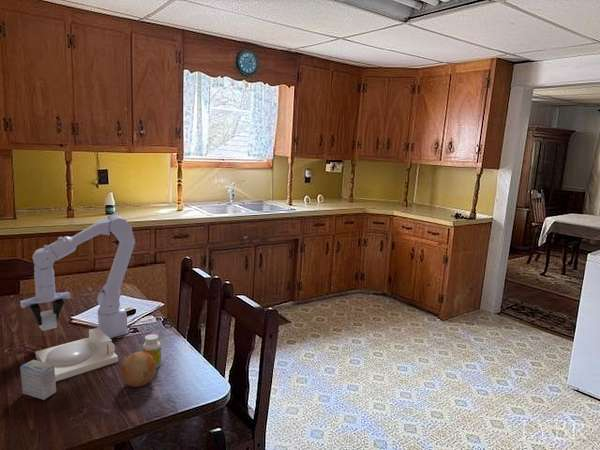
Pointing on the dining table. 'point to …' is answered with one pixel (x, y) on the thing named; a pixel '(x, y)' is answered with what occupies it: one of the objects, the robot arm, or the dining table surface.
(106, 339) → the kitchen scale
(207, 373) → the dining table surface
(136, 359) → the onion
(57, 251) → the robot arm
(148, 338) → the supplement bottle
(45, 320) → the steel weight
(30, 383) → the medicine box
